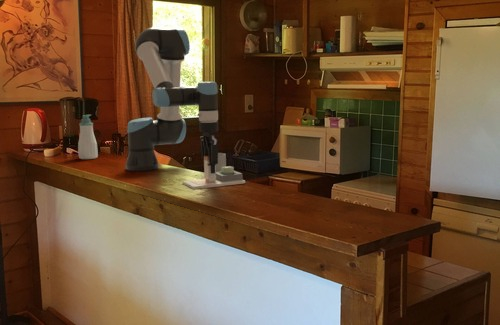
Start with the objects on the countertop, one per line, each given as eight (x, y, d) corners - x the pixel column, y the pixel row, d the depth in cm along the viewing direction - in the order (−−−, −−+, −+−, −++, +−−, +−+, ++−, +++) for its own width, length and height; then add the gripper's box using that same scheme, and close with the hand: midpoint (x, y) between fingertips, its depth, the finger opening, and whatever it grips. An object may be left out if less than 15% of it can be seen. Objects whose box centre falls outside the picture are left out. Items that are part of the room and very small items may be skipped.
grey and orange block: (204, 180, 225) (203, 156, 224) (212, 180, 227) (212, 155, 225) (207, 182, 222) (207, 157, 221) (216, 181, 224) (215, 156, 222)
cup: (214, 176, 240) (214, 156, 239) (203, 173, 248) (202, 153, 247) (229, 174, 244) (228, 154, 243) (217, 171, 252) (217, 151, 251)
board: (182, 183, 226) (182, 175, 225) (232, 178, 236) (232, 170, 235) (193, 189, 215) (193, 180, 215) (245, 183, 225) (245, 174, 224)
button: (219, 174, 230) (219, 167, 229) (230, 173, 232) (230, 165, 232) (224, 176, 225) (224, 168, 225) (235, 175, 228) (235, 167, 227)
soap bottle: (101, 157, 302) (99, 114, 299) (89, 160, 294) (86, 116, 290) (87, 156, 306) (84, 114, 303) (74, 159, 298) (71, 115, 294)
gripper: (192, 120, 227) (194, 178, 230) (207, 123, 212) (209, 184, 216) (209, 119, 230) (211, 176, 234) (225, 122, 215) (227, 182, 219)
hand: (210, 180), depth 225 cm, fingers closed on grey and orange block, 3 cm apart
